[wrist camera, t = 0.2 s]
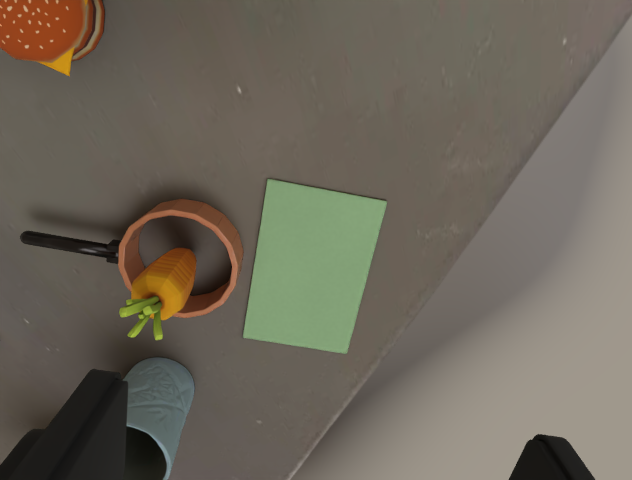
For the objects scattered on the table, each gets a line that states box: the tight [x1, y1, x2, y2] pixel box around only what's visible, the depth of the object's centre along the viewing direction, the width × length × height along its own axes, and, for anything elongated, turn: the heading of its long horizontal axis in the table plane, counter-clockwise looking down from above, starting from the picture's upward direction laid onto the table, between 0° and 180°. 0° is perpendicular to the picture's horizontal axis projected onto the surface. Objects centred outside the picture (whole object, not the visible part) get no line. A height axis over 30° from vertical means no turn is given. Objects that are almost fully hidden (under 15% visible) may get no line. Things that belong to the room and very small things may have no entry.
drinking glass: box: [122, 357, 195, 480], centre depth 49 cm, size 10×10×12 cm
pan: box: [20, 199, 244, 318], centre depth 45 cm, size 22×12×4 cm, turn 79°
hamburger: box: [0, 0, 105, 76], centre depth 36 cm, size 9×10×7 cm
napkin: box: [243, 179, 387, 354], centre depth 49 cm, size 20×13×1 cm, turn 169°
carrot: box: [119, 248, 196, 340], centre depth 41 cm, size 5×5×15 cm
